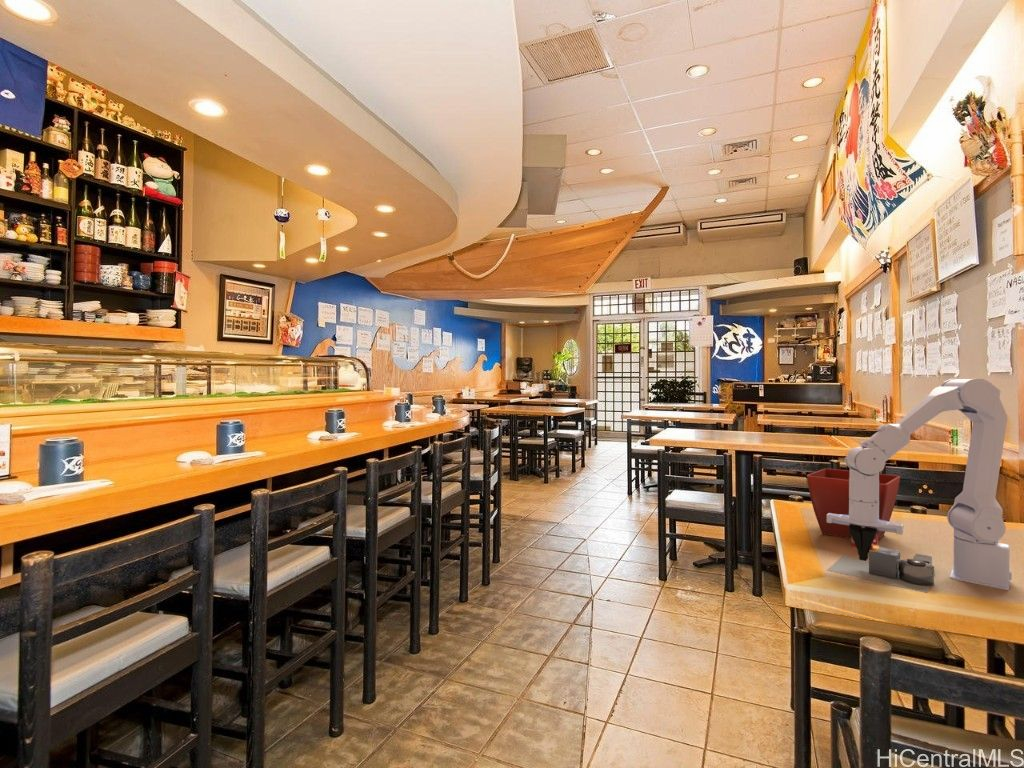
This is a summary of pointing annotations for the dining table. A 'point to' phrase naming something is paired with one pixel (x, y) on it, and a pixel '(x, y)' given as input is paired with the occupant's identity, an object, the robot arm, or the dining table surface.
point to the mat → (862, 571)
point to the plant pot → (845, 498)
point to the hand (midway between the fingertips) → (863, 559)
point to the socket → (883, 561)
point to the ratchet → (916, 570)
